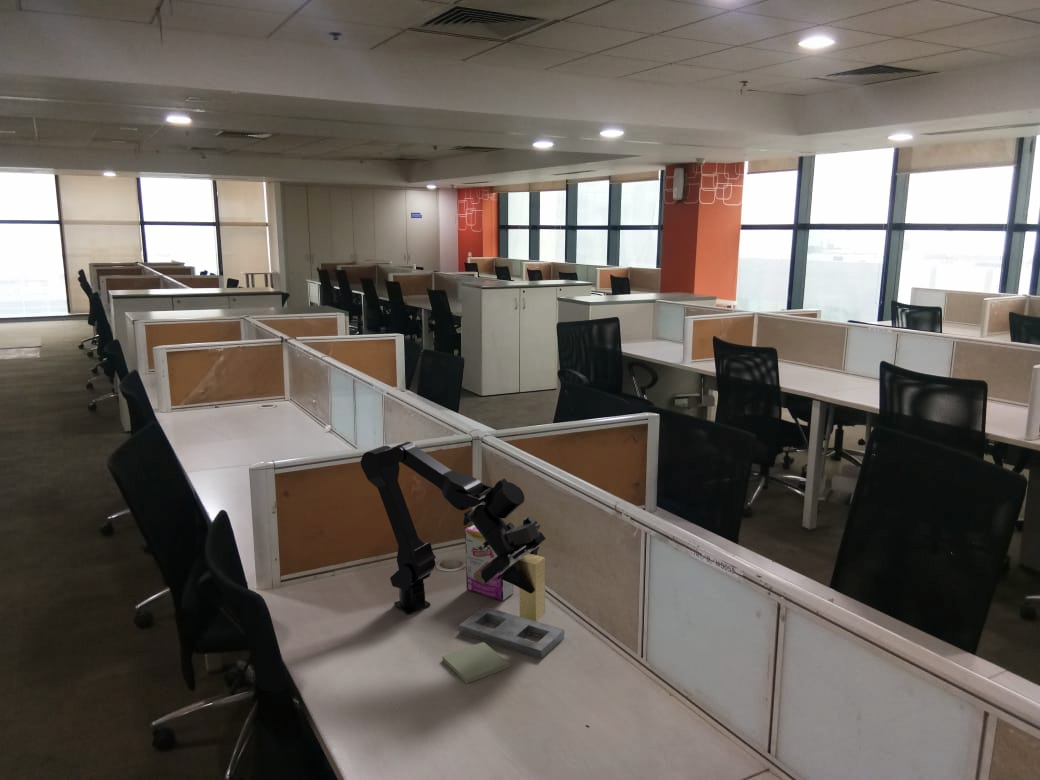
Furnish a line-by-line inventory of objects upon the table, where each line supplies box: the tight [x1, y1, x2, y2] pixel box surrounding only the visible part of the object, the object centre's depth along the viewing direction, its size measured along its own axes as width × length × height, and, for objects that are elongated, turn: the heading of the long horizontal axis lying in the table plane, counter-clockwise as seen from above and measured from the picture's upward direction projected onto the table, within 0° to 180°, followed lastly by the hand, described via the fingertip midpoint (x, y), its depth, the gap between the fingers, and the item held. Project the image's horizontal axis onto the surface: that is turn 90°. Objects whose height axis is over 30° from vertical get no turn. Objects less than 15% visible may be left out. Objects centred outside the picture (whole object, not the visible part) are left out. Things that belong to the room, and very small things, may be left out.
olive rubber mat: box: [442, 641, 510, 684], centre depth 159 cm, size 10×10×1 cm
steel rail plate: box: [458, 606, 565, 660], centre depth 170 cm, size 21×10×2 cm, turn 59°
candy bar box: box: [464, 524, 514, 602], centre depth 189 cm, size 11×5×16 cm, turn 58°
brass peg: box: [519, 554, 546, 622], centre depth 165 cm, size 4×4×13 cm
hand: (538, 588), depth 164 cm, fingers closed on brass peg, 4 cm apart
